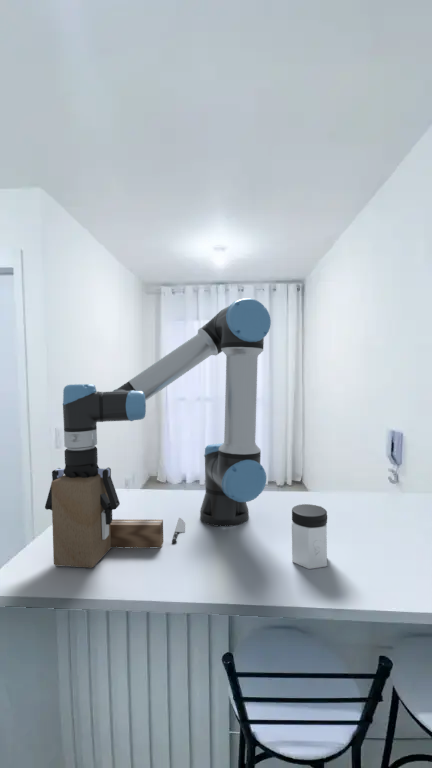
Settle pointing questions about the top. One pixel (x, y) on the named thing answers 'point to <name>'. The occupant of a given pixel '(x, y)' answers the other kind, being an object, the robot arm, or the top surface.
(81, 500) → the wooden block
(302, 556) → the jar
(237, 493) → the robot arm
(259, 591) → the top surface
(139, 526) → the brown wooden bar
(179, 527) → the chef's knife
